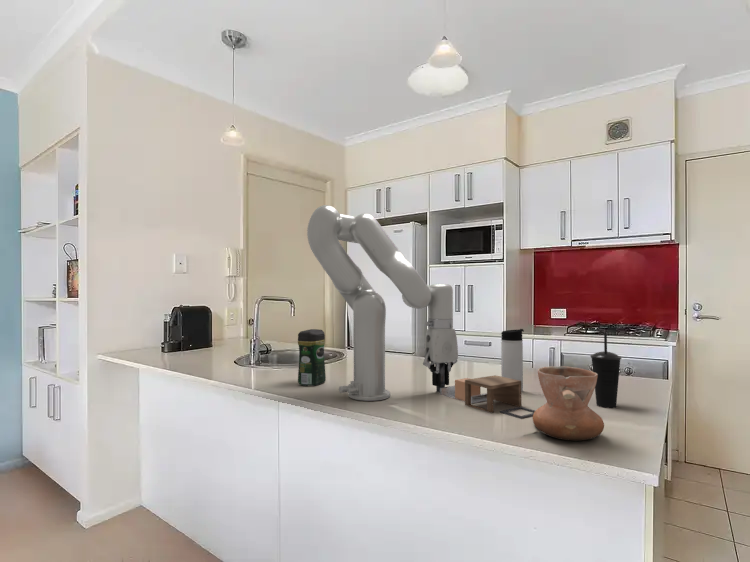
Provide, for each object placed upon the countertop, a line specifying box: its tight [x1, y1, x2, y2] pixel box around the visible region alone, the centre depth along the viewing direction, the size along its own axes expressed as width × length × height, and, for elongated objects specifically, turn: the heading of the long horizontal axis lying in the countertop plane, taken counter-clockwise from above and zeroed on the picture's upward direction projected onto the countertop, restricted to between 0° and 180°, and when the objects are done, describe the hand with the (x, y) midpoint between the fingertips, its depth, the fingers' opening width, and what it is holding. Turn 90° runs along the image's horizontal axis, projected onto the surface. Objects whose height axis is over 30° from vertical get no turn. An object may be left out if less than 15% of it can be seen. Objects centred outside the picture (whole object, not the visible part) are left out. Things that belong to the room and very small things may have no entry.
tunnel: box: [464, 374, 523, 414], centre depth 119 cm, size 12×9×8 cm
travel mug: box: [500, 328, 525, 393], centre depth 138 cm, size 6×7×20 cm
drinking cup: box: [590, 332, 622, 409], centre depth 124 cm, size 8×8×20 cm
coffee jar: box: [297, 328, 327, 387], centre depth 154 cm, size 10×8×19 cm
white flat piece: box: [435, 363, 487, 405], centre depth 130 cm, size 7×18×10 cm, turn 33°
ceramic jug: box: [532, 365, 605, 442], centre depth 100 cm, size 18×14×14 cm
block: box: [454, 377, 482, 400], centre depth 127 cm, size 5×5×5 cm
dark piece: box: [499, 406, 536, 420], centre depth 112 cm, size 8×7×2 cm
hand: (440, 384), depth 137 cm, fingers closed on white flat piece, 2 cm apart
